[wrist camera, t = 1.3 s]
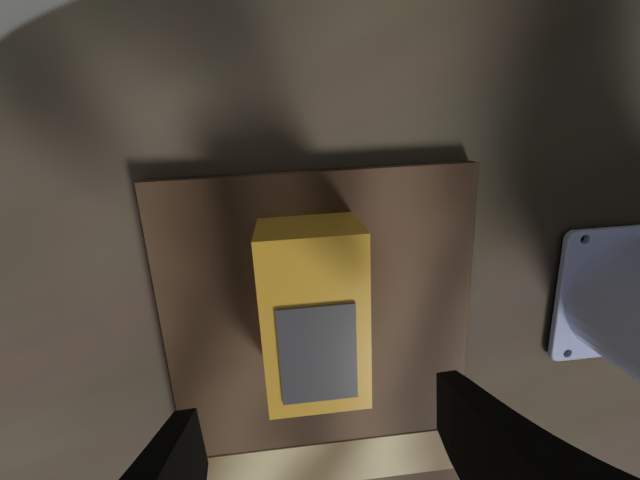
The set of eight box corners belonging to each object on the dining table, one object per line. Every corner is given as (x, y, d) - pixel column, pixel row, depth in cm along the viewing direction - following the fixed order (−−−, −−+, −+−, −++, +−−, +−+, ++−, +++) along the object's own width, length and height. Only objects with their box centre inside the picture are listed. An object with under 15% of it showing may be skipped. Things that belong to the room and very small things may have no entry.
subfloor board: (468, 160, 19) (479, 162, 18) (447, 518, 26) (453, 534, 25) (141, 179, 18) (133, 183, 17) (208, 551, 25) (205, 569, 24)
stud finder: (351, 211, 18) (371, 234, 14) (355, 356, 21) (373, 410, 17) (257, 218, 18) (250, 243, 14) (271, 365, 20) (269, 422, 16)
